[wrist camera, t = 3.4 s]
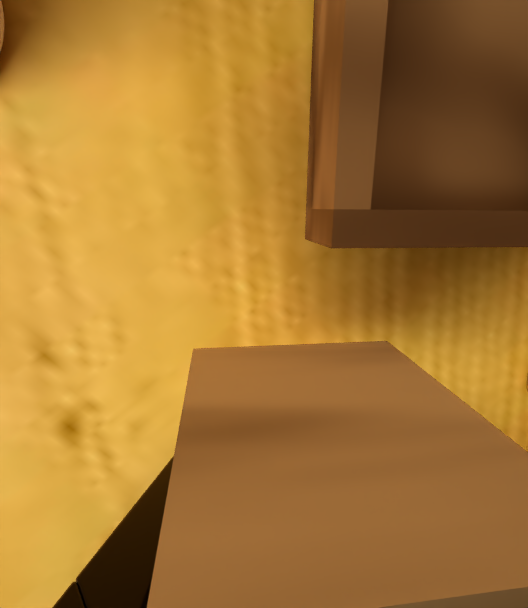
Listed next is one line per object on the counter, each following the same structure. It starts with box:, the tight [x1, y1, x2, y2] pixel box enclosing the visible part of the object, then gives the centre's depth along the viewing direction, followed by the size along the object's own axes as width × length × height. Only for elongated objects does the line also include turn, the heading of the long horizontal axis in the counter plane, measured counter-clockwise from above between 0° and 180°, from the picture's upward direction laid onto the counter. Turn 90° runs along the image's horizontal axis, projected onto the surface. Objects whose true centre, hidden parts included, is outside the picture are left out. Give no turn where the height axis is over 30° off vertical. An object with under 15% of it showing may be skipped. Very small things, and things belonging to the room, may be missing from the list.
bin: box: [305, 0, 528, 248], centre depth 12 cm, size 10×10×4 cm
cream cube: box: [147, 341, 528, 608], centre depth 7 cm, size 5×5×6 cm
